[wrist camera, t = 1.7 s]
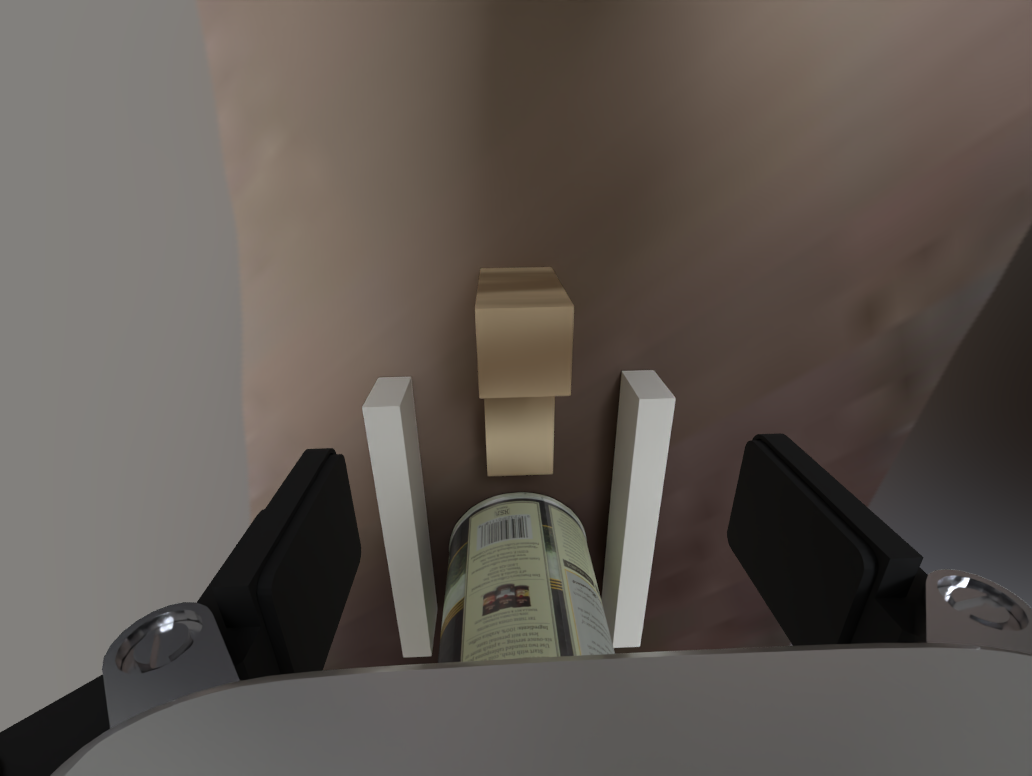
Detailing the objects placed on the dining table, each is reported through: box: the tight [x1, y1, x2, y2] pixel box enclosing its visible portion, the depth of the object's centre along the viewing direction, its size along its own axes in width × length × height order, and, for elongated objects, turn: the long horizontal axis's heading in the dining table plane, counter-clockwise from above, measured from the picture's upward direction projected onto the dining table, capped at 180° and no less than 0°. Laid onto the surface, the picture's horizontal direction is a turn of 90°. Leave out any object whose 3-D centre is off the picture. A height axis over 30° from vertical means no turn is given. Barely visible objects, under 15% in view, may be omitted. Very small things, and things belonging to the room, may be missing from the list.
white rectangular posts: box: [362, 370, 676, 657], centre depth 32 cm, size 20×17×4 cm
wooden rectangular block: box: [475, 267, 574, 476], centre depth 26 cm, size 12×4×8 cm, turn 1°
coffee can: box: [438, 492, 615, 663], centre depth 29 cm, size 10×10×14 cm
